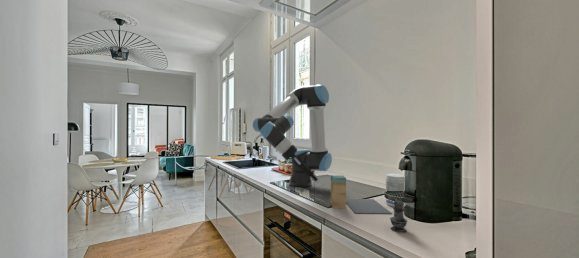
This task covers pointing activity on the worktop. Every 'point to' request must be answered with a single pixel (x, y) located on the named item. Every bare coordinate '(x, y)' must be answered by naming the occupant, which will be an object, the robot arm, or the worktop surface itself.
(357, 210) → the mat
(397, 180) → the supplement tub
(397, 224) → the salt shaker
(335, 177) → the tall block
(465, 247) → the worktop surface
